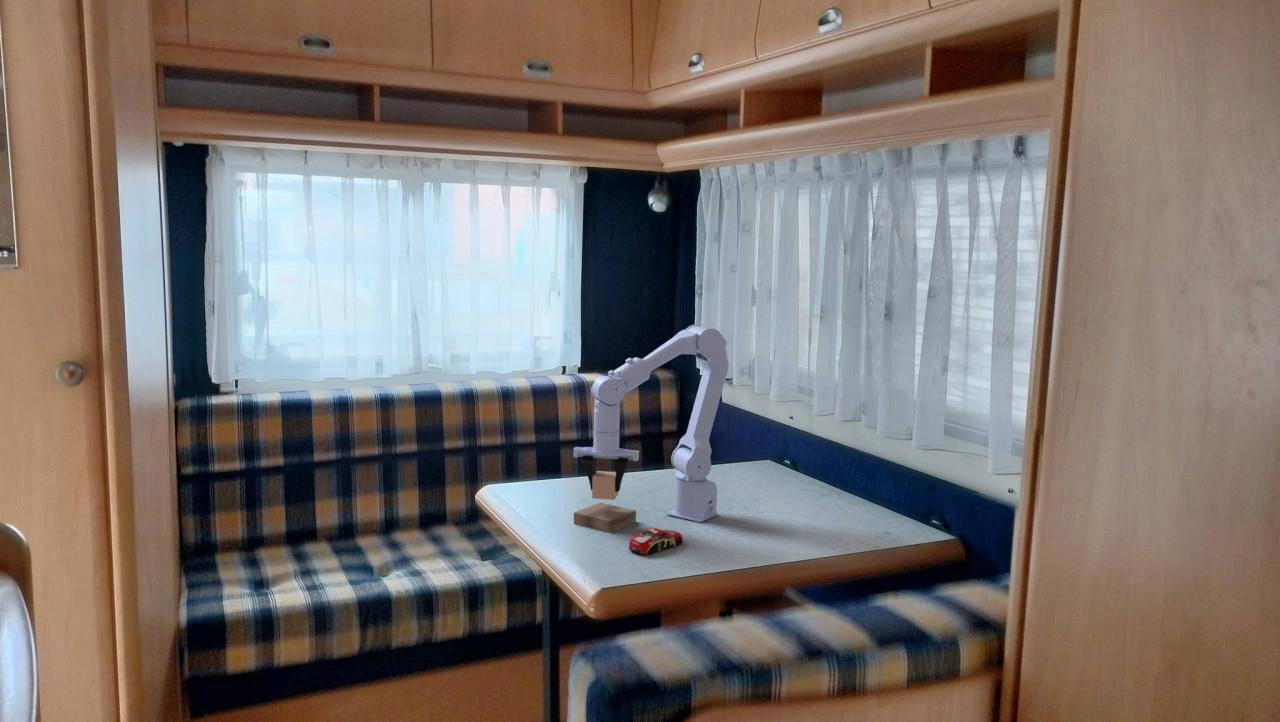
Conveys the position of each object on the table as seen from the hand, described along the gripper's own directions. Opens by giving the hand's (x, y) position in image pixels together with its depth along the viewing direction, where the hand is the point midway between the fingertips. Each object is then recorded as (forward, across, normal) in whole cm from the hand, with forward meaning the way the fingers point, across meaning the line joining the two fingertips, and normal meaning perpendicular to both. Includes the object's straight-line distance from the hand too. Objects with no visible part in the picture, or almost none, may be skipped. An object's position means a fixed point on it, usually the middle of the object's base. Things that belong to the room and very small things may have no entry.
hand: (605, 489), depth 207 cm
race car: (+8, -14, +14) cm, 21 cm away
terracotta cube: (+2, 0, 0) cm, 2 cm away
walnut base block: (+8, 0, 0) cm, 8 cm away
